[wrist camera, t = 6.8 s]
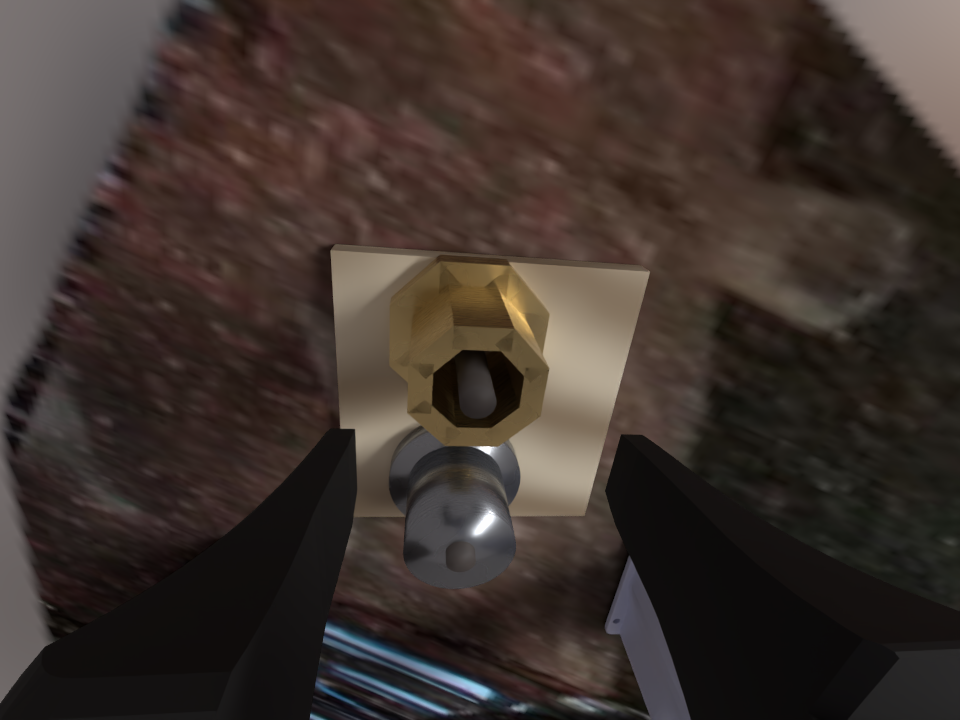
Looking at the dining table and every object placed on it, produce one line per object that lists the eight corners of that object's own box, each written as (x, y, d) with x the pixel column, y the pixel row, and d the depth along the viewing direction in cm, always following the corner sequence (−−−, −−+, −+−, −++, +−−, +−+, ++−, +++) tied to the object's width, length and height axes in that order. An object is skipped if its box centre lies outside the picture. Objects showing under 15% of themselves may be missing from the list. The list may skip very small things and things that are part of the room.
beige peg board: (579, 502, 26) (620, 608, 21) (348, 502, 25) (323, 618, 19) (640, 265, 20) (725, 322, 14) (335, 244, 18) (291, 298, 13)
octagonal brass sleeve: (529, 396, 21) (554, 467, 17) (390, 392, 21) (380, 465, 16) (551, 262, 19) (589, 305, 14) (391, 251, 18) (378, 293, 13)
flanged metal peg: (509, 515, 25) (526, 600, 20) (390, 516, 24) (381, 604, 20) (525, 418, 22) (549, 492, 18) (390, 415, 21) (379, 492, 17)
